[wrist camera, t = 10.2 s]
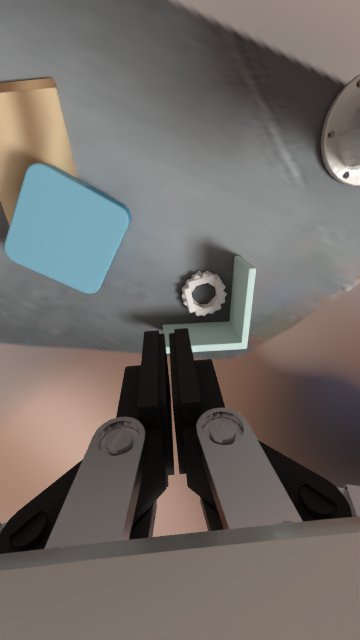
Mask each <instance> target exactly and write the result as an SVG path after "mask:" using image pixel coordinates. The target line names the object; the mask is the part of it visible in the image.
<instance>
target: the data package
mask: <svg viewBox="0 0 360 640" xmlns="http://www.w3.org/2000/svg"><path fill="white" fill-rule="evenodd" d="M130 221H131V214H130V211H129V209H128V208H127V207H126V206H125V205H124V204H122V203H120V202H118V201H117V200H115V199H113V198H111V197H110V196H108V195H106V194H104V193H102V192H101V191H99V190H97V189H95V188H93V187H92V186H90V185H88V184H86V183H84V182H83V181H81V180H79V179H77V178H76V177H74V176H72V175H70V174H68V173H67V172H65V171H63V170H61V169H59V168H58V167H56V166H52V165H47V164H42V163H34V164H32V165H30V166H29V167H28V168H27V170H26V172H25V176H24V179H23V182H22V186H21V189H20V192H19V196H18V199H17V203H16V206H15V209H14V213H13V216H12V219H11V223H10V226H9V230H8V233H7V236H6V240H5V243H4V251H5V253H6V255H7V256H8V258H9V259H11V260H12V261H13V262H16V263H18V264H20V265H22V266H25V267H27V268H29V269H31V270H34V271H36V272H38V273H40V274H43V275H45V276H47V277H49V278H52V279H54V280H56V281H58V282H61V283H63V284H65V285H68V286H70V287H72V288H74V289H77V290H79V291H81V292H83V293H87V294H91V293H94V292H96V291H98V290H99V288H100V286H101V284H102V282H103V280H104V278H105V276H106V274H107V272H108V270H109V267H110V265H111V263H112V261H113V259H114V256H115V254H116V252H117V250H118V248H119V245H120V243H121V241H122V239H123V237H124V234H125V232H126V230H127V228H128V226H129V223H130Z"/></svg>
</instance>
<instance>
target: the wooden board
mask: <svg viewBox="0 0 360 640" xmlns="http://www.w3.org/2000/svg"><path fill="white" fill-rule="evenodd" d="M34 163H42V164H47V165H52V166H56V167H58V168H59V169H61V170H63V171H65V172H67V173H68V174H70V175H72V176H74V177H76V178H77V173H76V169H75V165H74V161H73V156H72V152H71V148H70V144H69V139H68V135H67V131H66V127H65V122H64V118H63V114H62V110H61V106H60V101H59V97H58V93H57V89H56V84H55V80H54V79H53V78H47V79H36V80H26V81H15V82H4V83H0V201H1V204H2V207H3V210H4V213H5V215H6V218H7V221H8V224H9V226H10V223H11V219H12V216H13V213H14V209H15V206H16V203H17V199H18V196H19V192H20V189H21V186H22V182H23V179H24V176H25V172H26V170H27V168H28V167H29V166H30V165H32V164H34ZM77 179H78V178H77Z"/></svg>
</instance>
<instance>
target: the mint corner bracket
mask: <svg viewBox="0 0 360 640" xmlns="http://www.w3.org/2000/svg"><path fill="white" fill-rule="evenodd" d="M255 274H256V268H255V267H254V266H252V265H251V264H250V263H249V262H248V261H246V260H245V259H244V258H243V257H241V256H235V258H234V270H233V283H232V295H231V308H230V320H229V321H227V322H207V323H187V324H168V325H163V334H165V344H166V353H170V346H169V333H174V329H182V328H188V332H189V337H190V342H191V348H192V352H199V351H216V350H233V349H247V343H248V334H249V325H250V317H251V308H252V300H253V291H254V282H255ZM222 282H223V281H222V280H220V277H218V274H213V273H210V272H208V271H206V272H204V273H202V272H201V271H198V272H197V273H196V274H195V275H192V278H191V279H188V280H187V281H186V285H185V286H184V287H183V288H182V292H183V294H182V296H181V297H182V299H183V300H184V302H183V304H184V305H186V306H187V307H188V310H189V312H190V313H192V312H195V313H196V316H200V315H203V316H205V315H206V314H207V313H210V314H213V313H214V312H215V311H217V310H220V309H221V306H220V304H222V303H225V297H226V295H227V293H226V292H224V291H223V290H224V289H225V287H226V286H225V285H224V284H223V283H222ZM205 283H209V284H210V285H212V286H214V287H215V291H216V294H215V297H214V298H213V299H212V300H211V301H210V302H209V303H208V304H199V303H198V302H196V301H195V300H194V299H193V298H192V291H193V290H194V289H195V287H196V286H198V285H202V284H205Z"/></svg>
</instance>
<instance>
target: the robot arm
mask: <svg viewBox="0 0 360 640" xmlns="http://www.w3.org/2000/svg"><path fill="white" fill-rule="evenodd" d="M328 134H329V137H328ZM321 153H322V159H323V162H324V164H325V167H326V169H327V170H328V172H329V173H330V175H331V176H332V177H333V178H335V179H336V180H337V181H339V182H341V183H343V184H346V185H350V186H360V75H358V76H356V77H355V78H354V79H353V80H352V81H350V82H349V83H348V84H347V85H346V86H345V87H344V88H343V89H342V90H341V91H340V93H339V94H338V95H337V97H336V98H335V100H334V101H333V103H332V105H331V107H330V109H329V111H328V113H327V115H326V118H325V121H324V125H323V128H322V135H321ZM169 346H170V364H171V382H172V397H173V398H172V399H173V411H174V422H175V432H176V442H177V451H178V462H179V473H180V474H185V473H186V474H187V485H188V487H189V488H190V489H192V490H193V491H194V492H195V493H196V494H198V495H199V496H200V503H201V506H202V510H203V514H204V518H205V521H206V525H207V529H208V531H207V532H198V533H188V534H178V535H169V536H160V537H152V536H153V529H154V522H155V515H156V509H157V499H158V497H159V496H160V495H161V494H162V493H163V492H164V491H165V489H166V487H168V475H174V458H173V437H172V417H171V416H172V415H171V395H170V384H169V374H168V364H167V354H166V344H165V334H159V330H158V331H147V332H144V341H143V351H142V361H141V365H139V366H128V367H126V368H125V373H124V378H123V384H122V389H121V394H120V400H119V406H118V411H117V416H116V418H114V419H111V420H109V421H108V422H106V423H104V424H103V425H102V426H101V427H99V428H98V429H97V431H96V432H95V434H94V436H93V438H92V440H91V442H90V445H89V447H88V450H87V452H86V454H85V456H84V458H83V460H82V461H80V462H79V463H78V464H76V465H75V466H74V467H73V468H71V469H70V470H69V471H68V472H66V473H65V474H64V475H63V476H61V477H60V478H59V479H58V480H56V481H55V482H54V483H53V484H52V485H50V486H49V487H48V488H46V489H45V490H44V491H43V492H42V493H40V494H39V495H38V496H36V497H35V498H34V499H33V500H31V501H30V502H29V503H28V504H26V505H25V506H24V507H23V508H22V509H20V510H19V511H18V512H17V513H16V514H15V515H14V516H13V517H12V518H11V519H10V520H9V521H8V522H6V523H3V524H1V523H0V640H360V486H353V485H346V486H345V489H344V488H337V487H336V486H335V485H333V484H332V483H331V482H329V481H328V480H326V479H325V478H323V477H321V476H320V475H318V474H316V473H314V472H312V471H311V470H309V469H307V468H305V467H304V466H302V465H300V464H298V463H297V462H295V461H293V460H292V459H290V458H288V457H286V456H285V455H283V454H281V453H279V452H278V451H276V450H274V449H272V448H271V447H269V446H267V445H265V444H264V443H262V442H260V441H258V440H257V438H256V436H255V435H254V433H253V431H252V429H251V427H250V426H249V424H248V422H247V421H246V419H245V418H244V417H243V416H242V415H241V414H239V413H238V412H236V411H234V410H231V409H227V408H225V406H224V402H223V398H222V395H221V392H220V388H219V384H218V381H217V377H216V373H215V370H214V367H213V363H212V360H211V359H207V360H195V361H194V359H193V353H192V348H191V342H190V337H189V332H188V328H182V329H174V333H169Z"/></svg>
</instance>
